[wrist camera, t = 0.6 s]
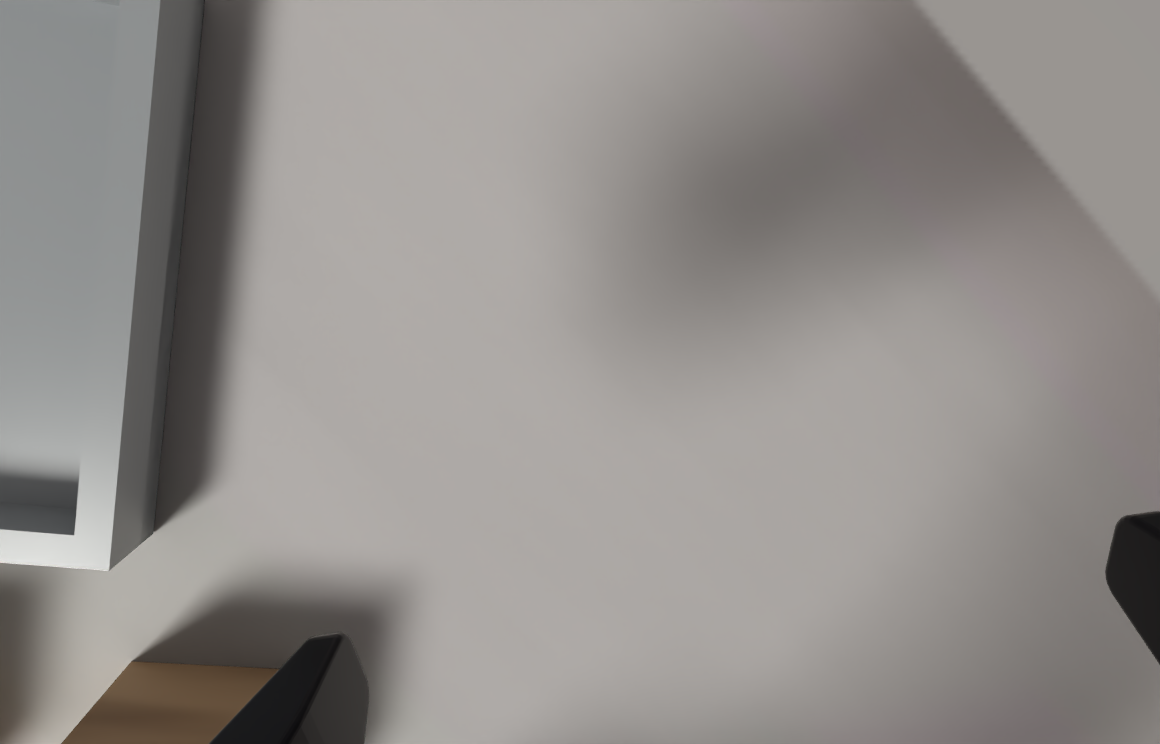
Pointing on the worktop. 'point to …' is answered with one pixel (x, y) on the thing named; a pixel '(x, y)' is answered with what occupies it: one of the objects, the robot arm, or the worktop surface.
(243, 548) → the worktop surface
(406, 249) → the worktop surface
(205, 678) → the walnut block
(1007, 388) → the worktop surface
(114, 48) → the tray
